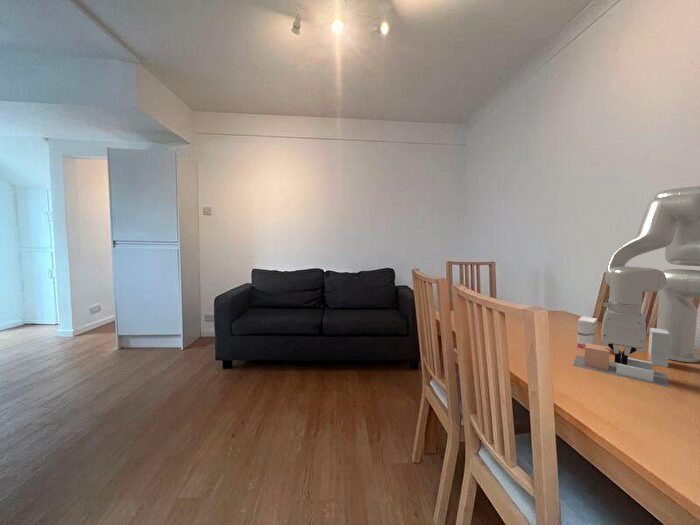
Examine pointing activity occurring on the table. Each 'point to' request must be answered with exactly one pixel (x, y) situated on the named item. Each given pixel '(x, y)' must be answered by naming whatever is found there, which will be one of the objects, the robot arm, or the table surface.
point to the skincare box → (659, 347)
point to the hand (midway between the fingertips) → (620, 365)
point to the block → (597, 356)
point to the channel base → (630, 370)
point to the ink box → (586, 331)
